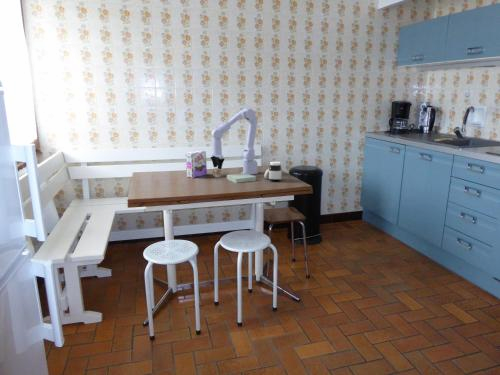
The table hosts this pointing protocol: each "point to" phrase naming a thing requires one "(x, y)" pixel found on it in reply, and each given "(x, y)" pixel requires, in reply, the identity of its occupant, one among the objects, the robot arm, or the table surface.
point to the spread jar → (274, 172)
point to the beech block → (218, 172)
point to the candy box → (196, 164)
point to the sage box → (241, 177)
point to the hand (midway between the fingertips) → (217, 168)
